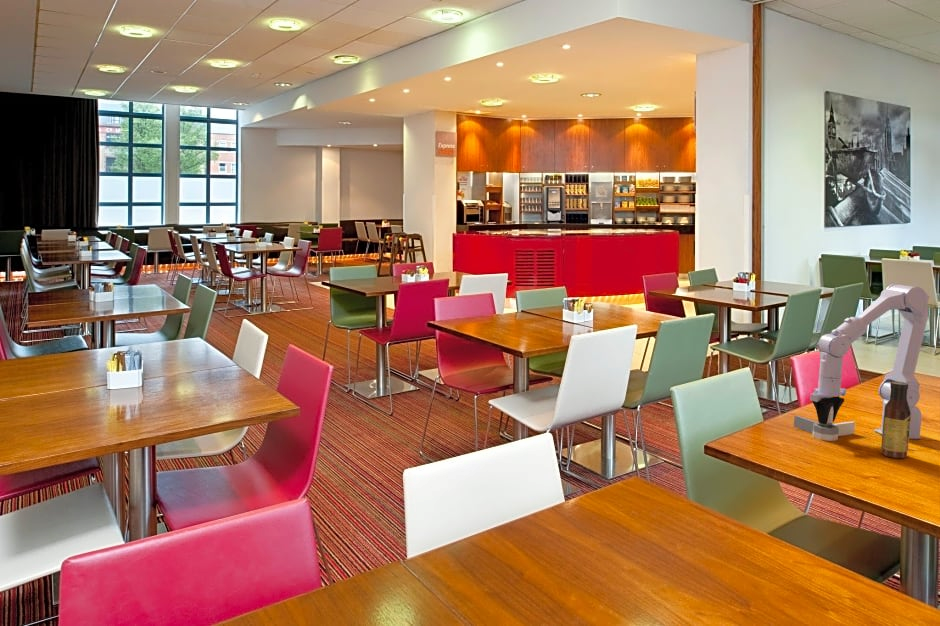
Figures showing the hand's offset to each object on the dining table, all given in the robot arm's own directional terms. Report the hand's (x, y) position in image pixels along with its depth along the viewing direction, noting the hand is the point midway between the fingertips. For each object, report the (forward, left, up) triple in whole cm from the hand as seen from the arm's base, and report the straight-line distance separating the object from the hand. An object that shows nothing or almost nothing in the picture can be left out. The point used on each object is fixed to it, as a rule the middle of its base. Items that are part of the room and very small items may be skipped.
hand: (826, 422), depth 209 cm
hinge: (-2, -5, -4) cm, 7 cm away
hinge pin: (0, 0, -3) cm, 3 cm away
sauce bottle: (-10, +16, -5) cm, 19 cm away
